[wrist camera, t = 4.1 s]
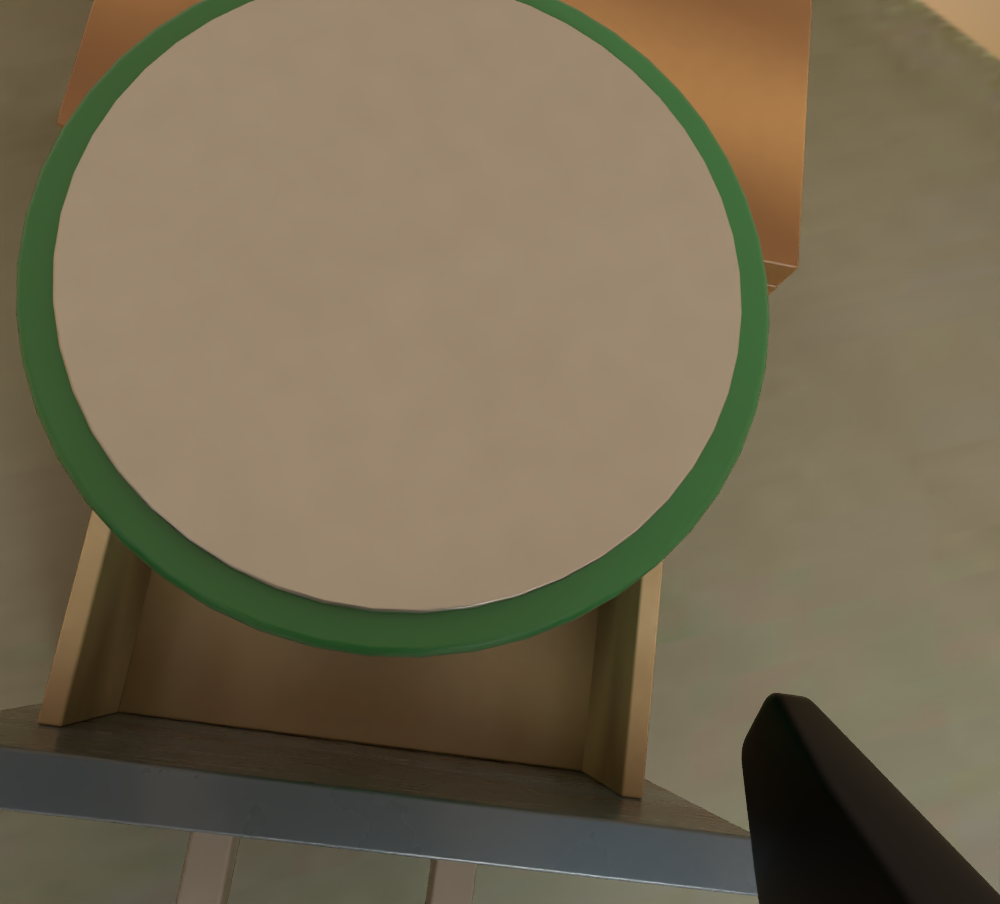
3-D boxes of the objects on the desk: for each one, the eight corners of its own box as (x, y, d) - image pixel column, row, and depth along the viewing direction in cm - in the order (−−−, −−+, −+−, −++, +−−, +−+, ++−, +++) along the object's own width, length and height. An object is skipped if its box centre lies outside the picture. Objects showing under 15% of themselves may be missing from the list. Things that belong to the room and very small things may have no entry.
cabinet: (667, 388, 21) (800, 268, 14) (165, 299, 20) (54, 122, 13) (702, 0, 24) (825, -250, 17) (266, -98, 23) (217, -410, 16)
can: (295, 686, 17) (100, 778, 5) (228, 421, 18) (-60, 3, 6) (560, 602, 18) (886, 525, 6) (483, 358, 19) (641, -98, 7)
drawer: (621, 1008, 17) (745, 1198, 11) (-12, 946, 16) (-244, 1123, 10) (682, 315, 21) (798, 186, 15) (175, 220, 19) (86, 39, 14)
